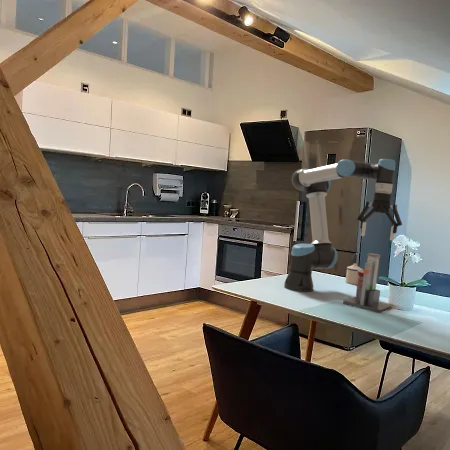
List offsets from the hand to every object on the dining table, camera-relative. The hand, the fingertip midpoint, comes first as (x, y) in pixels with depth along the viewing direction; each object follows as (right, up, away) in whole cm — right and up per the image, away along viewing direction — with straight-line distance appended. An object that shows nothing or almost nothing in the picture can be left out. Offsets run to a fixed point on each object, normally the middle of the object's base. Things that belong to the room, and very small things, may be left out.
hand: (376, 238), depth 214 cm
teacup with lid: (+5, -29, +60) cm, 67 cm away
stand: (-4, -32, +2) cm, 32 cm away
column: (-4, -30, +2) cm, 31 cm away
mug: (0, -31, +23) cm, 38 cm away
